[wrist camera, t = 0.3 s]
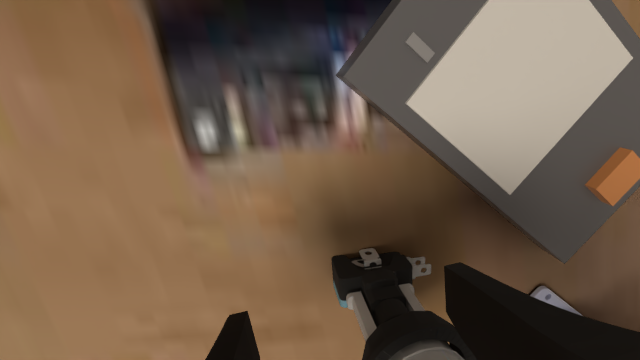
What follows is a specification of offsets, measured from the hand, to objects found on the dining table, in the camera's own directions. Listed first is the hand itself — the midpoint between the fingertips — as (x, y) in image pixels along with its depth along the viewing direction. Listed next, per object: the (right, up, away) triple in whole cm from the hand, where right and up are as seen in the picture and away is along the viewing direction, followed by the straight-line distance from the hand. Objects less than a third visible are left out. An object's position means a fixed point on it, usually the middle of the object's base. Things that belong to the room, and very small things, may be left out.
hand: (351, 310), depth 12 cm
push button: (+3, -1, +12) cm, 12 cm away
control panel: (+11, +10, +9) cm, 18 cm away
